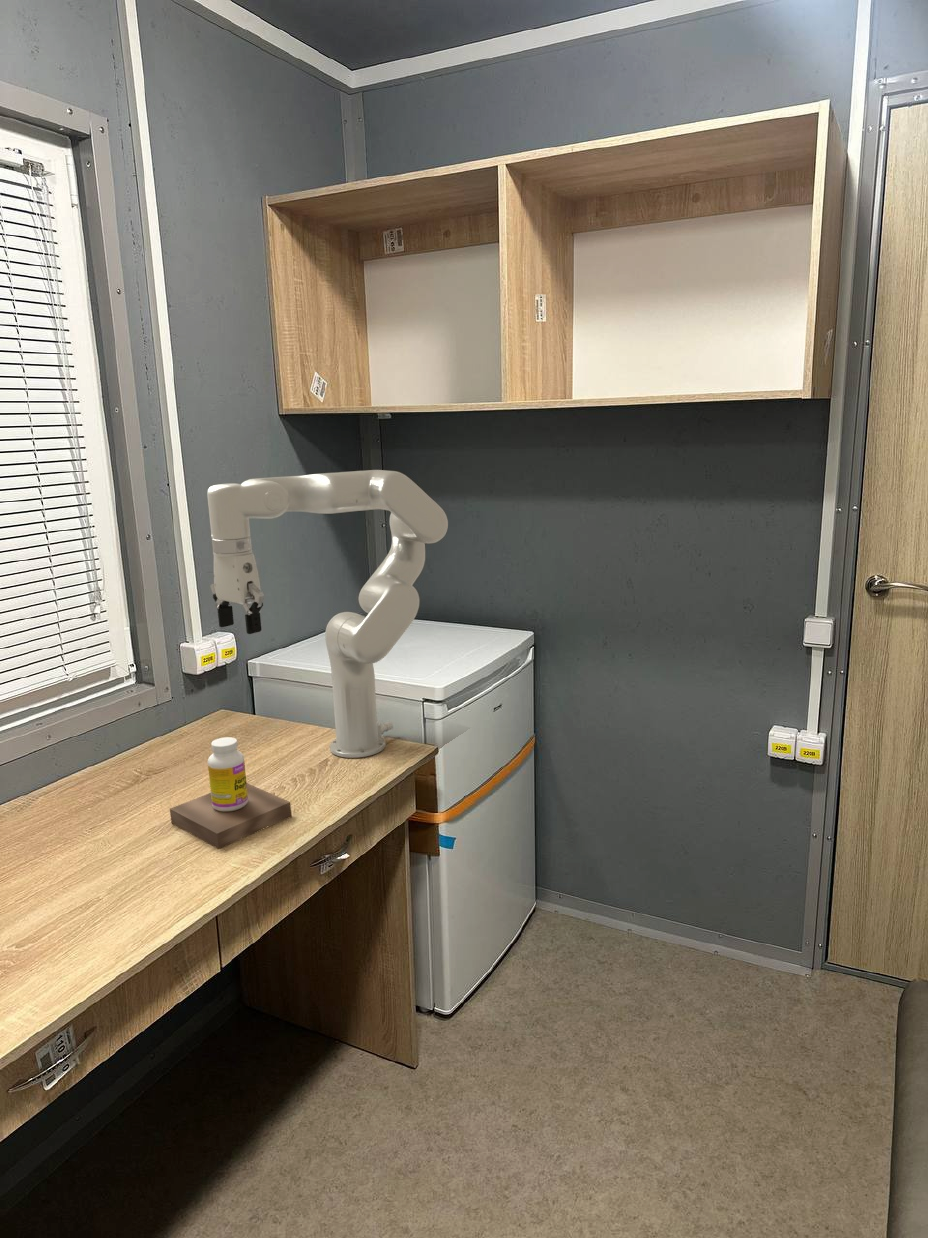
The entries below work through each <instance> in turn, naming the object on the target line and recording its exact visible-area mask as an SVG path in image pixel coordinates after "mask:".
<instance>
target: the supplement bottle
mask: <svg viewBox="0 0 928 1238" xmlns="http://www.w3.org/2000/svg"><path fill="white" fill-rule="evenodd" d="M210 744H211V750H212V754H211V755H210V756H209V757H208V759H207V769H208V777H209V780H208V781H209V789H210V793H211V799H212V806H213V808H214V809H216V810H218V811H223V812H228V811H235V810H238V809H240V808H242V807H244V806H245V805H246V804H247V802H248V793H247V783H248V782H247V775H246V765H245V764H246V763H245V756H244V754H243V752H241V751H240V750H238V740H237V738H235V737H231V736H229V737H228V736H226V737H225V736H224V737H220V738H215V739H214V740H212V742H211V743H210Z"/></svg>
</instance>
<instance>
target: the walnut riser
mask: <svg viewBox="0 0 928 1238" xmlns="http://www.w3.org/2000/svg"><path fill="white" fill-rule="evenodd" d="M246 783H247V793H248V802H247V804H246V805H245V806H244V807H242V808H240V809H238V810H235V811H228V812H223V811H218V810H216V809H214V808H213V806H212V799H211V792H210V793H207V794H204V795H202V796H199V797H197V798H194V799H192V800H189V801H186V802H184V803H181V804H179V805H175V806H173V807H171V808H169V813H170V821H171V824H172V825H174V826H176V827H178V828H179V829H182V830H183V831H185V832H187V833H188V834H190V835H192V836H194V837H196V838H197V839H200V840H201V841H204V842H205V843H208V844H209V845H211V846H213V847H214V848H217V849H218V850H220V849H222V848H224V847H226V846H228V845H231V844H233V843H235V842H238V841H240V840H243V839H245V838H247V837H248V836H249V837H250V836H251V835H253V834H255V832H256V833H258V832H260V831H262V830H264V829H263V828H265V829H267V828H268V827H267V826H269V827H271V826H273V825H276V824H278V823H280V822H282V820H283V821H285V820H287V819H289V818H291V817H292V807H291V806H292V805H291V801H289V800H286V799H284V798H281V796H278V795H275V794H273V793H270V792H268V791H266V790H263V789H262V788H259V787H257V786H255V785H252V784H250V783H248V782H246ZM284 819H285V820H284ZM275 823H276V824H275ZM266 827H267V828H266ZM261 829H262V830H261ZM259 830H260V831H259ZM257 831H258V832H257ZM244 837H245V838H244Z"/></svg>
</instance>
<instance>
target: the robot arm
mask: <svg viewBox="0 0 928 1238" xmlns="http://www.w3.org/2000/svg"><path fill="white" fill-rule="evenodd" d="M206 493H207V495H206V496H207V497H206V498H207V504H208V514H209V524H210V532H211V533H210V534H211V535H210V536H211V544H212V554H213V583H210V585H209V586H210V587H209V588H210V590H211V592H212V598H213V600H214V602H215V605H214V606H215V608H217V619H218V626H219V627H220V628H225V627H229V626H233V625H234V623H235V621H234V613H233V612H234V610H233V606H232V605H231V604H237V605H242V607H243V609H244V610H245V612H246V614H245V615H244V617H245V629H246V634H248V635H252V634H256V633H257V634H258V633H260V632H261V631H262V619H261V613H262V608H263V606H264V599H265V594H264V592H263V591H262V590H261V583H260V582H261V581H260V576H259V571H258V567H257V561H256V558H255V555H254V553H253V550H252V549H253V548H252V547H253V546H252V539H251V538H252V537H251V528H250V519H263V520H264V519H265V520H266V519H267V520H269V519H276V518H278V517H280V516H282V515H284V514H285V513H287V512H299V513H300V512H301V513H302V512H303V513H312V514H327V515H328V514H331V515H332V514H340V513H349V512H358V511H370V510H373V511H374V510H383V511H389V512H390V515H389V527H390V532H391V533H390V534H391V546H390V549H389V552H388V553H387V555H386V556H385V558H384V559H383V561H382V562H381V563H380V565H379V566H378V567H377V568H376V570H375V571H374V572H373V574H372V575H371V576H370V577H369V578H368V580H367V581H366V583H365V584H364V585H363V586H362V588H361V589H360V592H359V594H358V604H359V606H360V607H361V609H362V610H363V612H365V613H367V615H366V616H364V615H362V614H359V613H356V612H351V611H344V612H343V611H342V612H339V613H337V614H336V615H334V616H333V617H332V618H331V619H330V620H329V621H328V623H327V624H326V628H325V634H324V636H325V645H326V650H327V653H328V659H329V663H330V671H331V673H330V674H331V682H332V683H331V685H332V698H333V712H334V725H335V739H334V740H332V741H331V742H330V744H329V750H330V752H331V753H332V754H333V755H334V756H337V757H340V758H347V759H349V758H350V759H352V758H353V759H356V758H365V757H371V756H373V755H376V754H379V753H381V752H382V751H383V750H384V749H385V747H386V740H385V738H384V737H383V735H384V734H385V733H387V732H389V731H391V730H393V729H394V724H393V723H392V722H391V721H387V722H384V723H383V724H381V722H380V721H378V713H377V712H378V711H377V697H376V696H377V695H376V694H377V693H376V677H375V675H376V674H375V668H374V667H375V666H374V664H375V663H376V664H377V663H378V662H380V661H381V660H382V659H384V658H385V657H386V656H387V655H388V654H389V652H390V651H391V650H392V649H393V647H395V645H396V644H397V642H398V641H399V640H400V638H401V637H402V636H403V634H404V633H405V632H406V631H407V630H408V628H409V627H410V625H412V623H413V621H414V619H415V618H416V616H417V615H418V611H419V608H420V596H419V592H418V591H417V589H416V587H414V586H413V585H414V584H415V582H416V580H417V579H418V577H419V576H420V574H421V573H422V571H423V569H424V566H425V563H426V545H425V544H435V543H438V542H439V541H440V540H442V539H443V538H444V537H445V536H446V533H447V531H448V527H449V520H448V517H447V514H446V513H445V511H444V509H443V508H442V507H441V506H440V505H439V504H438V503H437V502H436V501H435V500H433V498H432V497H430V496H429V495H428V494H427V493H426V492H425V491H424V490H423V489H422V488H421V487H420V486H418V485H417V483H416V482H414V481H413V480H412V479H411V478H410V477H408V476H407V475H406V474H404V473H402V472H400V471H396V470H385V469H383V470H382V469H371V470H370V469H368V470H355V471H340V472H325V473H324V472H323V473H313V474H312V473H311V474H305V475H292V476H291V475H290V476H289V475H288V476H273V477H260V478H259V477H257V478H249V479H247V480H244V481H243V482H241V483H221V484H220V483H219V484H214V485H211V486H210V487H209V488H208V489H207V491H206ZM250 604H251V606H250Z"/></svg>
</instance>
